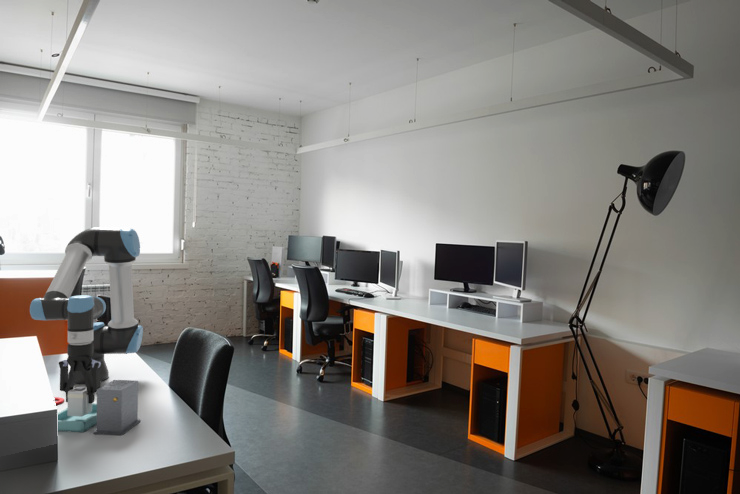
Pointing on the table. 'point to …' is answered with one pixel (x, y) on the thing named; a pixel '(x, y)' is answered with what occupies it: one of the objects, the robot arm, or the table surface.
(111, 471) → the table surface
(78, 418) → the parts tray
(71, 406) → the white tall square block
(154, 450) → the table surface
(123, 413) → the controller unit
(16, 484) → the table surface
